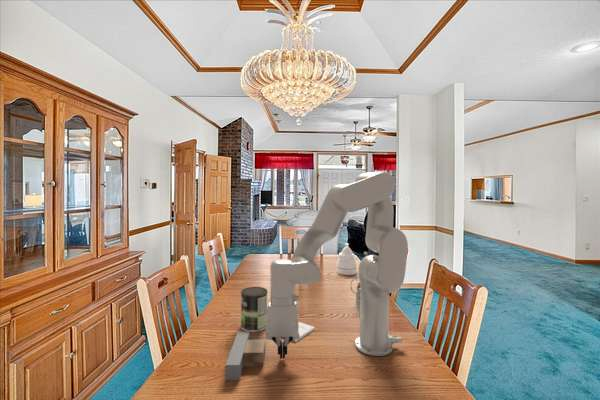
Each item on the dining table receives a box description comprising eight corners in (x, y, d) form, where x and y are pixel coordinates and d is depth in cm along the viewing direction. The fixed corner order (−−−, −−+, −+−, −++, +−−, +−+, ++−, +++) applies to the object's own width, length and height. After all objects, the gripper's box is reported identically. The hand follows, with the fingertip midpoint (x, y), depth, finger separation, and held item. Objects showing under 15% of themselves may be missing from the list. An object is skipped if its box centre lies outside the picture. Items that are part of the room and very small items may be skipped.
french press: (376, 309, 139) (377, 254, 138) (349, 307, 141) (350, 253, 140) (375, 301, 149) (376, 250, 148) (350, 299, 151) (351, 249, 150)
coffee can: (244, 334, 115) (244, 297, 114) (238, 322, 125) (238, 288, 124) (270, 329, 119) (271, 293, 118) (263, 318, 129) (263, 285, 128)
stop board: (249, 344, 108) (249, 331, 108) (239, 380, 88) (239, 364, 88) (237, 344, 108) (237, 331, 108) (225, 380, 88) (225, 364, 88)
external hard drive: (277, 337, 114) (298, 325, 124) (295, 344, 109) (315, 330, 119) (277, 333, 114) (298, 321, 124) (295, 339, 109) (315, 326, 119)
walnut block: (265, 352, 103) (265, 339, 103) (263, 366, 95) (263, 352, 95) (247, 352, 103) (247, 339, 103) (243, 367, 95) (243, 352, 95)
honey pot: (336, 268, 207) (337, 242, 206) (356, 269, 205) (356, 242, 205) (336, 274, 195) (336, 245, 194) (357, 275, 193) (357, 246, 192)
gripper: (305, 295, 101) (305, 349, 102) (259, 295, 101) (260, 350, 102) (306, 304, 94) (306, 363, 95) (257, 304, 93) (257, 363, 94)
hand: (282, 356), depth 98 cm, fingers closed
